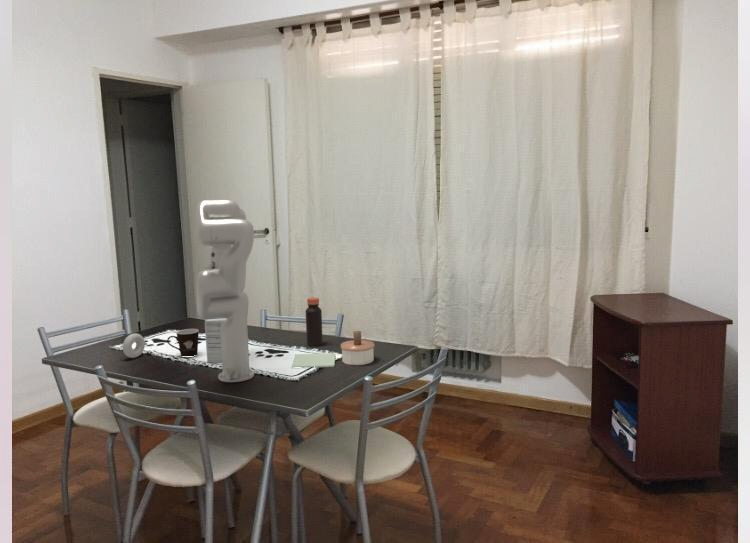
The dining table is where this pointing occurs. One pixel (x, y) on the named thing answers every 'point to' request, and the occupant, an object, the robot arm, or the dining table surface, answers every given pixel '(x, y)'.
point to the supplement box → (213, 339)
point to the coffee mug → (187, 342)
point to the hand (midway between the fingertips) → (224, 286)
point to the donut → (138, 349)
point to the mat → (314, 360)
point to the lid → (357, 343)
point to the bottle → (314, 323)
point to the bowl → (357, 357)
